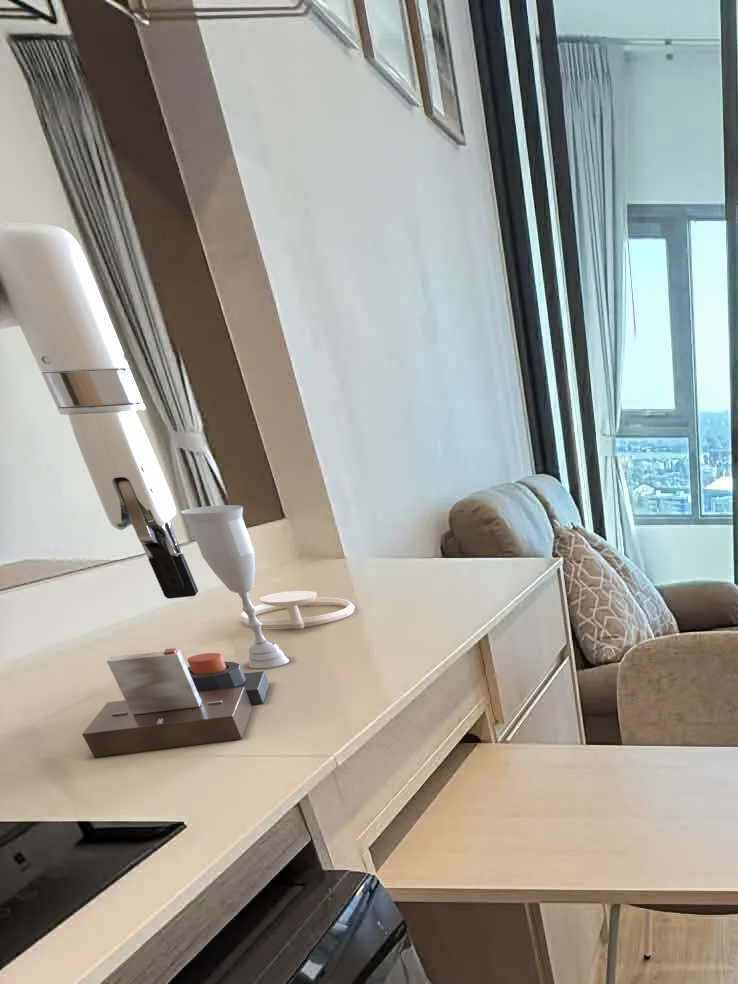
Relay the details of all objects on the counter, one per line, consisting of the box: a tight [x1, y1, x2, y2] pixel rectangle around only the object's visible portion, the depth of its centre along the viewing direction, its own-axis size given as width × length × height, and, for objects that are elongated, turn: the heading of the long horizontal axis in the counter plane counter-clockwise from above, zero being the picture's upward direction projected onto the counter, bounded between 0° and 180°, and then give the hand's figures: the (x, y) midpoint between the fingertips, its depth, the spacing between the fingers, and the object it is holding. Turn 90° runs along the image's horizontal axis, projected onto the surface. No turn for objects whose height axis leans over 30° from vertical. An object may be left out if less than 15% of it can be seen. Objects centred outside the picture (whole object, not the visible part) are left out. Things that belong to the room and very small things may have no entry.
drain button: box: [186, 652, 227, 675], centre depth 100 cm, size 4×4×2 cm
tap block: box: [81, 687, 253, 758], centre depth 93 cm, size 14×11×3 cm
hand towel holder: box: [239, 590, 356, 630], centre depth 133 cm, size 17×4×21 cm
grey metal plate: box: [106, 647, 202, 715], centre depth 90 cm, size 6×2×6 cm, turn 111°
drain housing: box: [187, 661, 270, 706], centre depth 101 cm, size 10×8×4 cm
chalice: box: [180, 504, 290, 669], centre depth 109 cm, size 7×7×18 cm
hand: (182, 595), depth 95 cm, fingers closed
